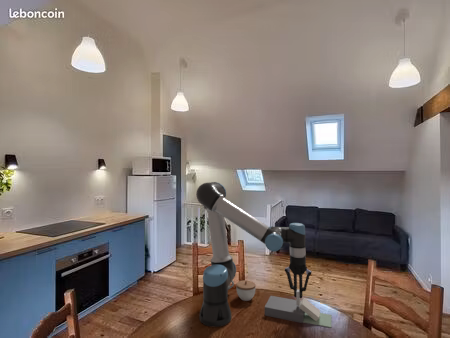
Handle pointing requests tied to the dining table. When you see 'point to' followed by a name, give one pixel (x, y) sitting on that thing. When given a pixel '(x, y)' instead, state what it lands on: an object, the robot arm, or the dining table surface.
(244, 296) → the lidded jar
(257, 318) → the dining table surface
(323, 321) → the mat
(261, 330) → the dining table surface
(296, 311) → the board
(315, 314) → the tile
